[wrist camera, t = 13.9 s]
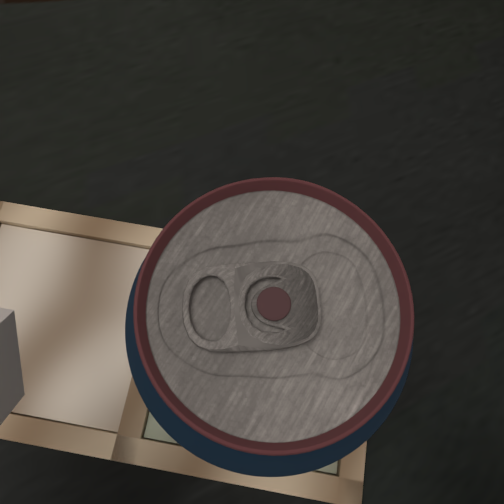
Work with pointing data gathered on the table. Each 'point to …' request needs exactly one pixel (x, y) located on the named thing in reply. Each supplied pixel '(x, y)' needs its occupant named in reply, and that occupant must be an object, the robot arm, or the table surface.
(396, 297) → the soda can
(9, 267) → the tan flat wooden frame
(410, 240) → the table surface
